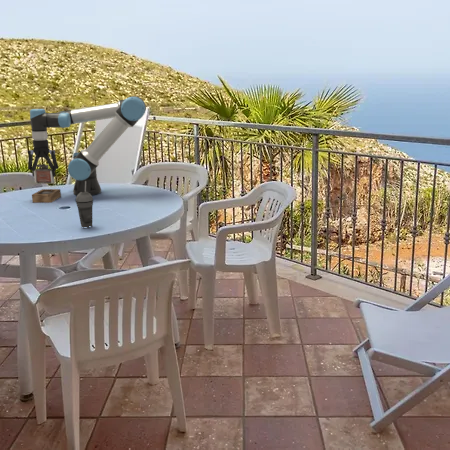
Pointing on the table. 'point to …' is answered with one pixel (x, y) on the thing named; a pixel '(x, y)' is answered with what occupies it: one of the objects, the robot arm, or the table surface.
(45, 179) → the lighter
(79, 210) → the beverage cup
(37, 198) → the shallow wooden box
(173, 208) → the table surface
